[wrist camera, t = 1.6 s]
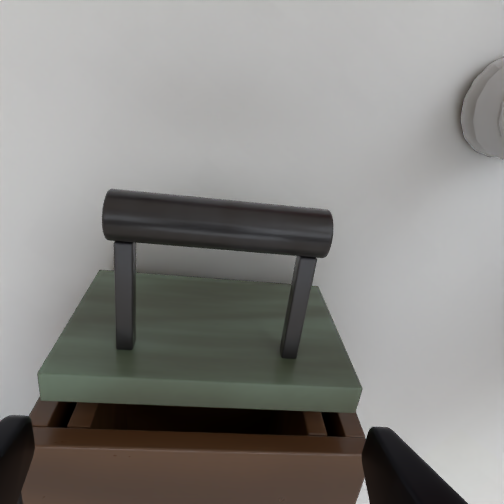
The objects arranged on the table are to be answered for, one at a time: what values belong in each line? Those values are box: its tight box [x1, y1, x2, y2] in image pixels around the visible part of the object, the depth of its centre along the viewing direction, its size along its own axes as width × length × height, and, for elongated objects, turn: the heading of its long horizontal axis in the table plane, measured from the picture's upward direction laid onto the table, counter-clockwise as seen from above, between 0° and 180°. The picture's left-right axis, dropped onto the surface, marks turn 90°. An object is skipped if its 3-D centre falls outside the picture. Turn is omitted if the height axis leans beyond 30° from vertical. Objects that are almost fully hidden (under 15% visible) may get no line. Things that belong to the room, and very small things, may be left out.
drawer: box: [37, 189, 362, 436], centre depth 18 cm, size 19×11×7 cm, turn 173°
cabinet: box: [21, 397, 366, 504], centre depth 21 cm, size 15×12×9 cm
